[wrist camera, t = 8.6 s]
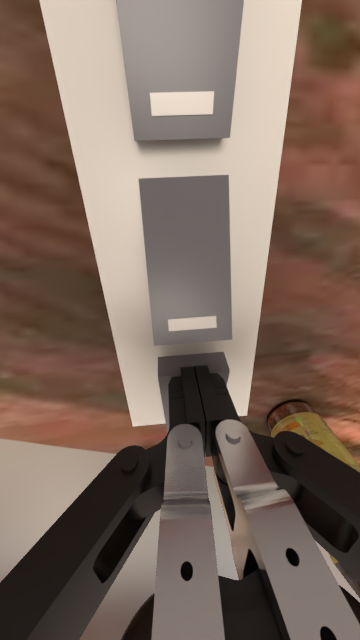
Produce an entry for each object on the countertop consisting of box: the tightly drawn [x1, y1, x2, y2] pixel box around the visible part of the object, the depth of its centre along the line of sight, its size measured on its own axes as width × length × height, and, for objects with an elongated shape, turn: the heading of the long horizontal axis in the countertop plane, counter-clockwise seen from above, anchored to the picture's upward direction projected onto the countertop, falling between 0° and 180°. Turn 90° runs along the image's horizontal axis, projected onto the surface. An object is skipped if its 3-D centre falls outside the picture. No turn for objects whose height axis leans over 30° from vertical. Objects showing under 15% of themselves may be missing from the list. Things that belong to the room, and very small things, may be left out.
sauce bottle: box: [268, 402, 360, 598], centre depth 17 cm, size 6×6×20 cm
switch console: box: [39, 0, 302, 427], centre depth 14 cm, size 27×10×5 cm, turn 3°
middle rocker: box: [139, 175, 232, 346], centre depth 10 cm, size 8×4×2 cm, turn 3°
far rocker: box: [158, 352, 230, 433], centre depth 14 cm, size 8×4×2 cm, turn 2°
